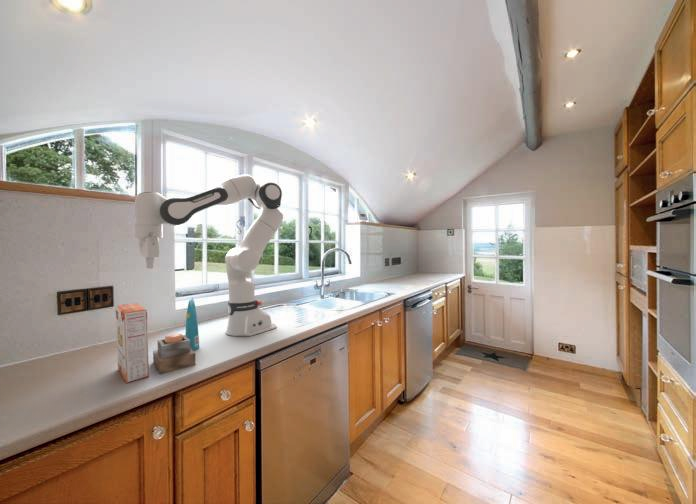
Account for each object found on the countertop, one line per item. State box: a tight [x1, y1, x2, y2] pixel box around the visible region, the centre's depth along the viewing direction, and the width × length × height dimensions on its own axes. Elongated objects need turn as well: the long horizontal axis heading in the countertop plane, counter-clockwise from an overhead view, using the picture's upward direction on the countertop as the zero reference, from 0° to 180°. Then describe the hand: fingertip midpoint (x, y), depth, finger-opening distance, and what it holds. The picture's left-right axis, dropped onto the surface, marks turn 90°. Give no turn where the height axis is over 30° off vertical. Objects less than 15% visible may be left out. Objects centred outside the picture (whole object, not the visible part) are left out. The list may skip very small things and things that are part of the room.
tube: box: [184, 297, 200, 351], centre depth 106 cm, size 7×5×19 cm, turn 25°
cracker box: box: [115, 303, 150, 384], centre depth 86 cm, size 14×6×21 cm, turn 47°
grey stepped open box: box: [152, 334, 196, 375], centre depth 93 cm, size 10×12×8 cm
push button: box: [164, 333, 183, 344], centre depth 93 cm, size 5×5×5 cm
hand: (149, 268), depth 109 cm, fingers closed
